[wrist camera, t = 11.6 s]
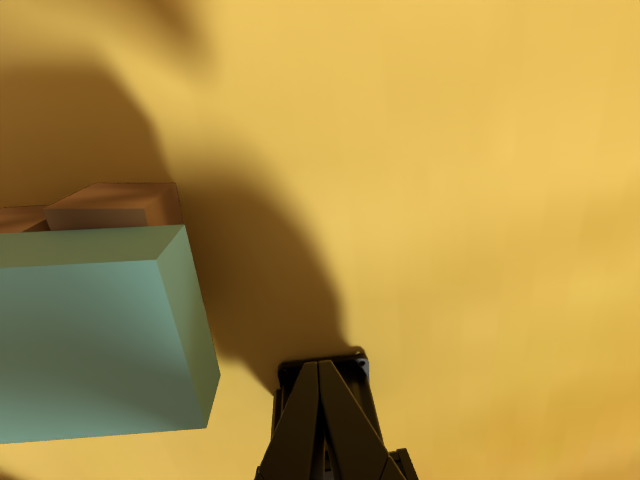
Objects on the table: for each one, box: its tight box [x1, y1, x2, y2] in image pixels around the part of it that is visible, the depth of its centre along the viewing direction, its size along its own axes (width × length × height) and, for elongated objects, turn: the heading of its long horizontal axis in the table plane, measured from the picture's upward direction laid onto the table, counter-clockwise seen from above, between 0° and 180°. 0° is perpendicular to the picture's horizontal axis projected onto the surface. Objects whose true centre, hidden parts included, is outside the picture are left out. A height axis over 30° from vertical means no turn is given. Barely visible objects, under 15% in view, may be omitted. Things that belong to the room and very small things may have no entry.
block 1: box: [43, 183, 183, 231], centre depth 17 cm, size 4×8×4 cm, turn 179°
